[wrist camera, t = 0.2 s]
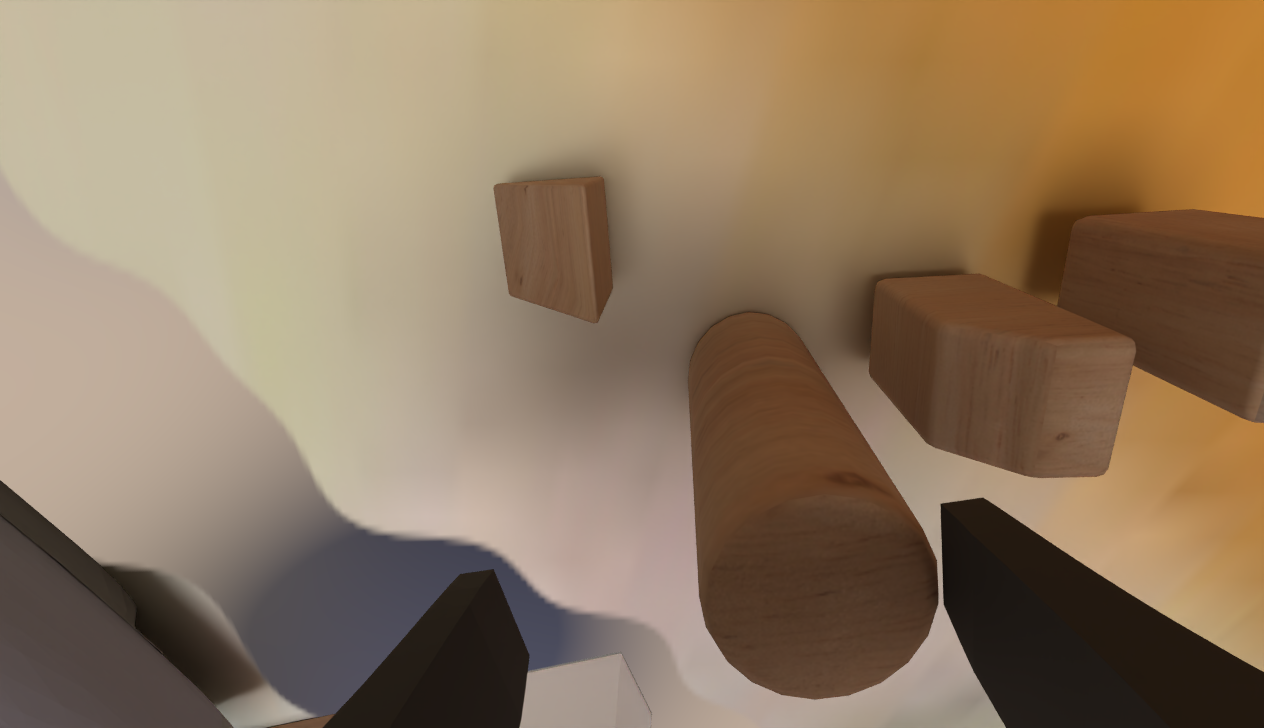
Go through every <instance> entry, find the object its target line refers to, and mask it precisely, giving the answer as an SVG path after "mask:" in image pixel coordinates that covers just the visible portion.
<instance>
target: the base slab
mask: <svg viewBox="0 0 1264 728" xmlns="http://www.w3.org/2000/svg"><path fill="white" fill-rule="evenodd" d="M334 715H335V714H332V715H328V716H323V717H318V718H313V719H308V720H303V721H299V722H294V723H289V724H284V725H279V726H275V727H270V728H323V727H324V725H325V724H326V723H327V722H328V721H329V720H330V719H331V718H332V717H333V716H334Z"/></svg>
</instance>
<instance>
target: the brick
mask: <svg viewBox="0 0 1264 728" xmlns="http://www.w3.org/2000/svg"><path fill="white" fill-rule="evenodd" d="M651 715H652V712H651V710H650V708H649V706H648V704H647V702H646V700H645V698H644V696H643V694H642V692H641V690H640V688H639V686H638V684H637V682H636V680H635V678H634V676H633V674H632V672H631V670H630V668H629V666H628V664H627V662H626V660H625V658H624V656H623V654H622V652H616V653H611V654H607V655H602V656H597V657H592V658H588V659H583V660H578V661H573V662H569V663H564V664H559V665H554V666H550V667H545V668H540V669H536V670H531V671H528V672H527V681H526V690H525V697H524V704H523V711H522V718H521V723H520V727H519V728H651V719H652V718H651V717H652V716H651Z"/></svg>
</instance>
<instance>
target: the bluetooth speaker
mask: <svg viewBox="0 0 1264 728" xmlns="http://www.w3.org/2000/svg"><path fill="white" fill-rule="evenodd" d="M36 544H37V545H38V546H37V545H36ZM48 554H49V555H50V556H51V557H50V556H49V555H48ZM54 559H55V560H56V561H57V562H56V561H55V560H54ZM60 564H61V565H62V566H63V567H64V568H63V567H62V566H61V565H60ZM66 569H67V570H68V571H69V572H70V573H69V572H68V571H67V570H66ZM74 576H75V577H76V578H75V577H74ZM82 583H83V584H82ZM136 611H137V608H136V605H135V602H134V601H133V600H132V599H131V598H130V596H129V595H128V594H127V593H126V592H125V590H124V589H123V588H122V587H121V586H120V585H119V584H118V583H117V582H116V581H115V580H114V579H113V578H112V577H111V576H110V575H109V574H108V573H107V572H106V571H105V570H104V569H103V568H102V567H101V566H100V565H99V564H98V563H97V562H96V561H95V560H94V559H93V558H92V557H91V556H89V555H88V554H87V553H86V552H85V551H84V550H83V549H81V548H80V547H79V546H78V545H77V544H76V543H75V542H73V541H72V540H71V539H70V538H68V537H67V536H66V535H65V534H64V533H62V532H61V531H60V530H59V529H58V528H57V527H55V526H54V525H53V524H52V523H51V522H49V521H48V520H47V519H46V518H45V517H44V516H42V515H41V514H40V513H39V512H38V511H36V510H35V509H34V508H33V507H32V506H31V505H29V504H28V503H27V502H26V501H25V500H23V499H22V498H21V497H20V496H19V495H17V494H16V493H15V492H14V491H13V490H12V489H10V488H9V487H8V486H7V485H6V484H4V483H3V482H2V481H1V480H0V728H233V726H232V725H231V724H230V723H229V722H228V721H227V719H226V718H225V717H224V716H223V715H222V714H221V712H220V711H219V710H218V709H217V708H216V706H215V705H214V704H213V703H212V702H211V701H210V700H209V699H208V698H207V697H206V696H205V695H204V694H203V693H202V691H201V690H200V689H199V688H198V687H197V686H195V685H194V684H193V683H192V682H191V681H190V680H189V679H188V678H187V677H186V676H185V675H184V674H183V673H181V672H180V671H179V670H178V669H177V668H176V667H175V666H174V665H173V664H172V663H171V662H170V661H168V660H167V659H166V658H165V657H164V656H163V655H162V654H163V653H162V652H161V651H160V650H159V649H158V648H157V647H156V646H155V645H154V644H153V643H152V642H151V641H149V640H148V639H147V638H146V637H145V636H144V635H143V634H141V633H140V632H139V631H138V630H137V629H136V628H135V618H136Z"/></svg>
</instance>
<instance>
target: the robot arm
mask: <svg viewBox="0 0 1264 728" xmlns="http://www.w3.org/2000/svg"><path fill="white" fill-rule="evenodd" d="M941 533H942V565H943V598H944V606H945V608H946V611H947V613H948V615H949V617H950V620H951V622H952V624H953V627H954V629H955V631H956V634H957V636H958V638H959V640H960V643H961V645H962V647H963V649H964V651H965V654H966V656H967V658H968V660H969V662H970V664H971V667H972V669H973V671H974V673H975V675H976V676H977V678H978V680H979V682H980V683H981V685H982V687H983V689H984V690H985V692H986V694H987V695H988V697H989V699H990V701H991V702H992V704H993V706H994V708H995V709H996V711H997V713H998V714H999V716H1000V718H1001V720H1002V721H1003V723H1004V725H1005V727H1006V728H1264V672H1262V671H1261V670H1259V669H1257V668H1255V667H1253V666H1251V665H1250V664H1248V663H1246V662H1244V661H1242V660H1241V659H1239V658H1237V657H1235V656H1234V655H1232V654H1230V653H1229V652H1227V651H1225V650H1223V649H1222V648H1220V647H1218V646H1216V645H1215V644H1213V643H1211V642H1209V641H1208V640H1206V639H1204V638H1203V637H1201V636H1199V635H1197V634H1196V633H1194V632H1192V631H1190V630H1189V629H1187V628H1185V627H1184V626H1182V625H1180V624H1178V623H1177V622H1175V621H1173V620H1172V619H1170V618H1168V617H1167V616H1165V615H1163V614H1162V613H1160V612H1158V611H1157V610H1155V609H1153V608H1152V607H1150V606H1148V605H1147V604H1145V603H1144V602H1142V601H1140V600H1139V599H1137V598H1135V597H1134V596H1132V595H1131V594H1129V593H1127V592H1126V591H1124V590H1123V589H1121V588H1120V587H1118V586H1116V585H1115V584H1113V583H1112V582H1110V581H1108V580H1107V579H1105V578H1104V577H1102V576H1101V575H1099V574H1097V573H1096V572H1094V571H1093V570H1091V569H1090V568H1088V567H1087V566H1085V565H1084V564H1082V563H1080V562H1079V561H1077V560H1076V559H1074V558H1073V557H1071V556H1070V555H1068V554H1067V553H1065V552H1064V551H1062V550H1061V549H1059V548H1058V547H1056V546H1055V545H1053V544H1052V543H1050V542H1049V541H1047V540H1046V539H1044V538H1043V537H1041V536H1040V535H1038V534H1037V533H1035V532H1034V531H1032V530H1031V529H1029V528H1028V527H1026V526H1025V525H1023V524H1022V523H1020V522H1019V521H1018V520H1016V519H1015V518H1013V517H1012V516H1010V515H1009V514H1007V513H1006V512H1004V511H1003V510H1001V509H1000V508H998V507H997V506H995V505H994V504H992V503H991V502H989V501H988V500H986V499H985V498H977V499H970V500H964V501H957V502H950V503H943V504H941ZM528 664H529V653H528V651H527V648H526V646H525V644H524V641H523V639H522V637H521V634H520V632H519V629H518V627H517V624H516V622H515V620H514V617H513V615H512V612H511V610H510V607H509V605H508V603H507V600H506V598H505V596H504V593H503V591H502V588H501V586H500V584H499V581H498V579H497V576H496V574H495V572H494V569H492V570H486V571H479V572H472V573H465V574H460V575H459V576H458V577H457V578H456V579H455V580H454V581H453V582H452V583H451V584H450V585H449V587H448V588H447V589H446V590H445V591H444V592H443V593H442V595H441V596H440V597H439V598H438V599H437V600H436V601H435V602H434V604H433V605H432V606H431V607H430V608H429V609H428V611H427V612H426V613H425V614H424V615H423V617H421V619H420V620H419V621H418V622H417V623H416V624H415V626H414V627H413V628H412V629H411V630H410V632H409V633H408V634H407V635H406V636H405V637H404V638H403V640H402V641H401V642H400V643H399V644H398V645H397V646H396V648H395V649H394V650H393V651H392V652H391V653H390V654H389V656H388V657H387V658H386V659H385V660H384V661H383V662H382V664H381V665H380V666H379V667H378V668H377V669H376V670H375V671H374V673H373V674H372V675H371V676H370V677H369V678H368V679H367V681H366V682H365V683H364V684H363V685H362V686H361V687H360V688H359V689H358V690H357V691H356V692H355V694H354V695H353V696H352V697H351V698H350V699H349V700H348V701H347V702H346V703H345V704H344V705H343V706H342V707H341V708H340V710H339V711H338V712H337V713H336V714H335V715H334V716H333V717H332V718H331V719H330V720H329V721H328V722H327V723H326V724H325V725H324V727H323V728H519V727H520V723H521V718H522V711H523V704H524V697H525V690H526V681H527V672H528Z"/></svg>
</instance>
